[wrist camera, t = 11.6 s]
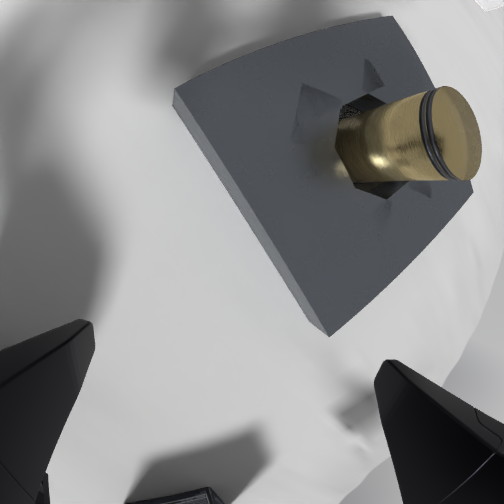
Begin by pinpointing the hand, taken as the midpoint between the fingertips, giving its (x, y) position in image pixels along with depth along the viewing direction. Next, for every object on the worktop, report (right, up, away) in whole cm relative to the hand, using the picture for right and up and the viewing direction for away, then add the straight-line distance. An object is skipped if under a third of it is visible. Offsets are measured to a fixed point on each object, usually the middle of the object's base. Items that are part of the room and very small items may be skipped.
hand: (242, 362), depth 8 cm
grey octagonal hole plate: (+8, +11, +13) cm, 18 cm away
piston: (+8, +11, +13) cm, 18 cm away
